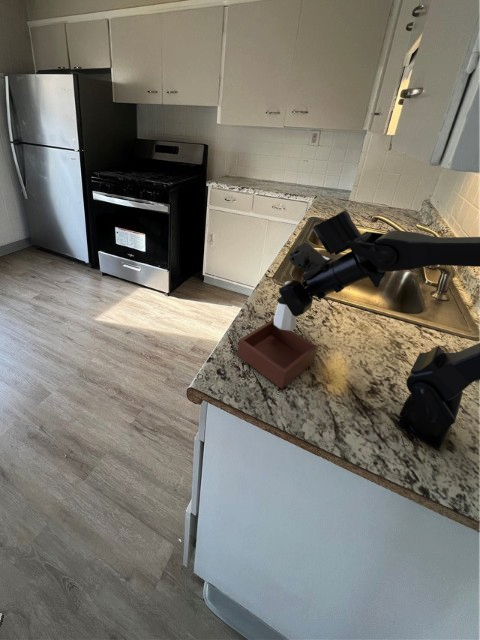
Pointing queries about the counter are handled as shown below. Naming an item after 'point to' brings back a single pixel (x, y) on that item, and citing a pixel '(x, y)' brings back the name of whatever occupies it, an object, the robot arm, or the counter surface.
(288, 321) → the salt shaker
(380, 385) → the counter surface
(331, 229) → the robot arm
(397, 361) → the counter surface
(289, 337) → the bin
